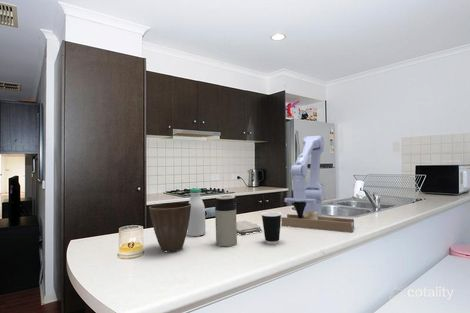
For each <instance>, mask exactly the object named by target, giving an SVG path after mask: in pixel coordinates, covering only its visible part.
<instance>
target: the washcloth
mask: <svg viewBox="0 0 470 313" xmlns="http://www.w3.org/2000/svg"><path fill="white" fill-rule="evenodd" d="M236 225H237V233H239V234H246V233H253V232H259V233H261V232H260V231H262V232H263V230H262V227H261V226H260V225H258V224H257V223H255V222H251V221H247V220H239V221H236ZM253 234H254V233H253Z"/></svg>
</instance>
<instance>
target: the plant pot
mask: <svg viewBox="0 0 470 313" xmlns="http://www.w3.org/2000/svg"><path fill="white" fill-rule="evenodd" d="M148 208H149V214H150V219H151V224H152V226H153V231H154V235H155V237H156V240H157V242H158V245H159V248H160V250H161V251H162V250H163V251H167V252H166V253H169V252H168V251H175V252H178V251H177V250H179V251H181V250H182V249H183V248H184V244H185V240H186V237H187V235H188V225H189V219H190V211H191V204H190V203H189V202H179V201H177V202H165V203H158V204H156V203H155V204H153V205H150V206H149V207H148ZM180 249H181V250H180ZM163 251H162V252H163Z"/></svg>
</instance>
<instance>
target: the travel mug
mask: <svg viewBox="0 0 470 313" xmlns="http://www.w3.org/2000/svg"><path fill="white" fill-rule="evenodd" d="M235 198H236V196H235V195H227V194H226V195H217V196H215V200H216V203H215V205H214V209H215V211H214V212H215V216H214V218H215V219H214V220H215V244H216V245H217V246H219V245H220V246H219V247H223V246H227V247H233V246H235V245H237V243H238V234H237V225H236V222H237V204H236V203H235ZM232 245H233V246H232Z"/></svg>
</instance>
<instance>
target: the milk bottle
mask: <svg viewBox="0 0 470 313" xmlns="http://www.w3.org/2000/svg"><path fill="white" fill-rule="evenodd" d="M189 193H190V198H189V201H188V203H190V204H191V211H190V219H189V225H188V230H187V235H188V236H189V235H190V236H189V237H193V236H197V237H200V236H199V235H203V234H205V235H206V211H205V208H206V207H205V204H204V201H203V199H202V196H201V194H202V188H199V187H198V188H197V187H196V188H195V187H194V188H190V190H189ZM203 236H204V235H203Z"/></svg>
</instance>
